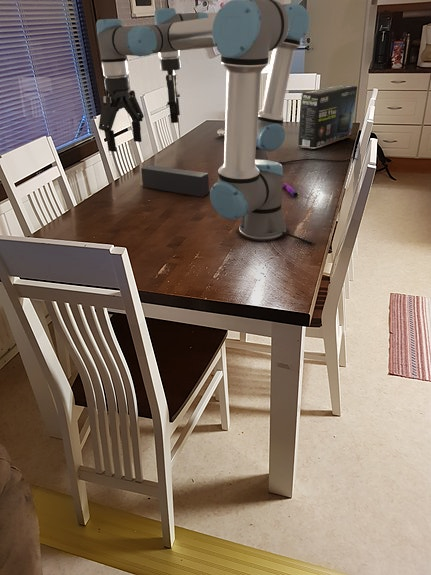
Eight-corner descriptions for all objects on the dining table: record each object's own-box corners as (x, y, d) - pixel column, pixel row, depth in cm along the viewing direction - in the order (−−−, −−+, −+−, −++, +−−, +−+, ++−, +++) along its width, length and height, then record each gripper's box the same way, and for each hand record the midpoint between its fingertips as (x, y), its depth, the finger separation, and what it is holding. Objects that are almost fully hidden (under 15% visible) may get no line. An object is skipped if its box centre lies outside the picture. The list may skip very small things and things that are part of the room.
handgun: (264, 183, 192) (264, 178, 191) (281, 181, 193) (281, 176, 192) (279, 199, 175) (279, 194, 174) (298, 197, 176) (298, 192, 175)
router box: (314, 151, 231) (318, 94, 217) (296, 148, 237) (299, 92, 224) (352, 138, 251) (358, 85, 238) (335, 135, 258) (340, 83, 245)
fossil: (240, 133, 254) (221, 116, 257) (229, 149, 261) (212, 132, 264) (255, 132, 268) (238, 116, 271) (245, 147, 274) (228, 131, 277)
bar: (209, 192, 184) (208, 173, 180) (202, 197, 180) (201, 177, 176) (150, 183, 197) (148, 164, 193) (143, 187, 193) (141, 168, 189)
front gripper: (131, 71, 153) (138, 136, 164) (78, 81, 134) (91, 154, 145) (149, 72, 150) (156, 138, 161) (98, 82, 131) (110, 156, 142)
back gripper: (161, 55, 177) (168, 113, 188) (156, 62, 156) (163, 126, 167) (181, 54, 177) (186, 111, 188) (178, 60, 156) (184, 125, 167)
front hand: (125, 146), depth 153 cm, fingers open, 13 cm apart
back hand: (175, 118), depth 178 cm, fingers open, 13 cm apart
